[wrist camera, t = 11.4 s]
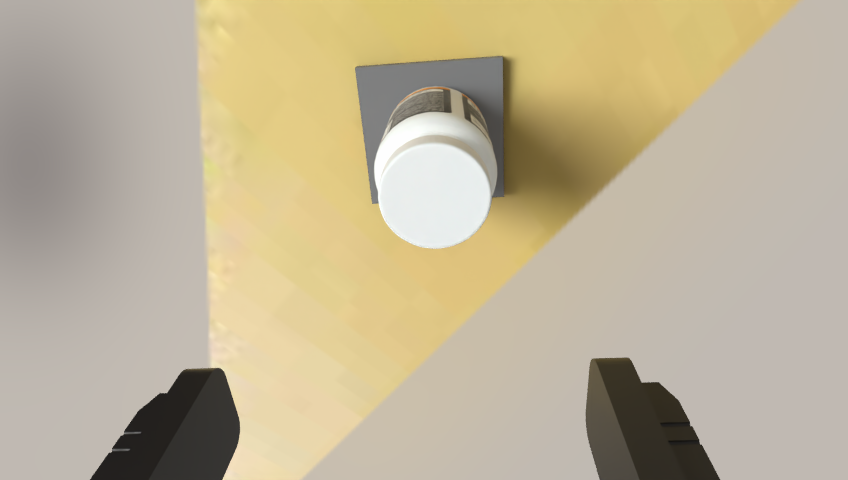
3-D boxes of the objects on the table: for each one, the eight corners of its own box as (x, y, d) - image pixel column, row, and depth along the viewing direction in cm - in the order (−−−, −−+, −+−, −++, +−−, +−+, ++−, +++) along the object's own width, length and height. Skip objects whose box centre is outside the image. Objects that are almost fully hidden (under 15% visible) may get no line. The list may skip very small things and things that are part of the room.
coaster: (356, 66, 30) (355, 68, 29) (501, 55, 29) (502, 57, 28) (373, 199, 33) (372, 203, 33) (503, 193, 33) (504, 196, 32)
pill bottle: (380, 171, 32) (353, 247, 23) (397, 73, 29) (375, 115, 20) (473, 190, 32) (483, 273, 23) (499, 95, 29) (521, 147, 20)
